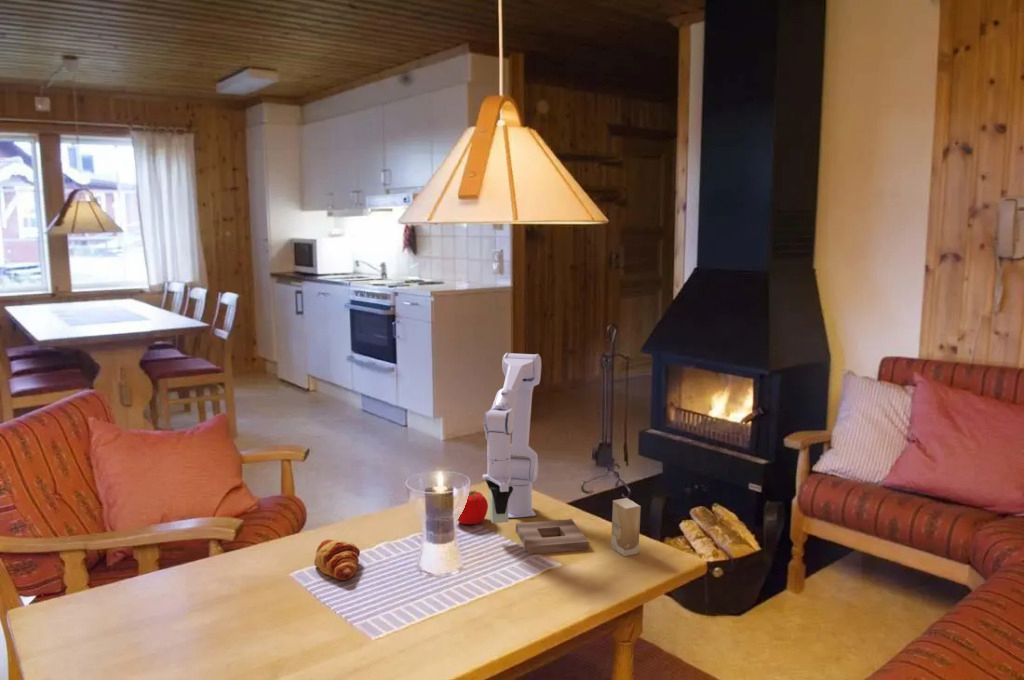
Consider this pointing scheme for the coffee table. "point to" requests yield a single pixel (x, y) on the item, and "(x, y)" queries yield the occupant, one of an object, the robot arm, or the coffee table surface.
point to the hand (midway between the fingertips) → (498, 510)
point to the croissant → (337, 558)
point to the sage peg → (493, 515)
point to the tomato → (474, 509)
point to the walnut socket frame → (566, 541)
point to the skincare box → (625, 527)
